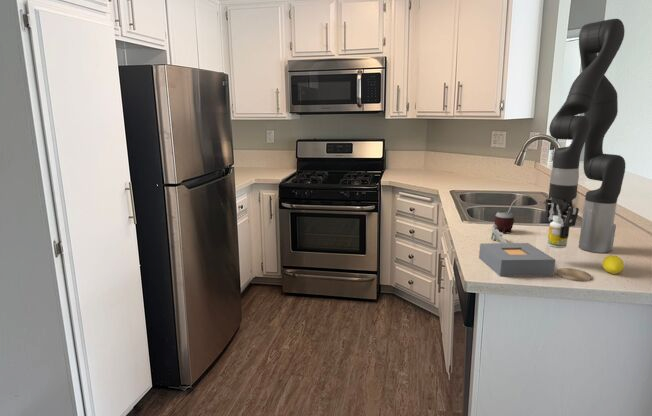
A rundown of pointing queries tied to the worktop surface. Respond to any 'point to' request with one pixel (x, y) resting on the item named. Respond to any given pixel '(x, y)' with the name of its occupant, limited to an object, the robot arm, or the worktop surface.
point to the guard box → (516, 260)
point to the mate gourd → (505, 220)
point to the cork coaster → (573, 274)
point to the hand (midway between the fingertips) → (558, 235)
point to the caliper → (497, 235)
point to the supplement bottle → (556, 234)
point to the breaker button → (515, 252)
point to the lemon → (613, 264)
